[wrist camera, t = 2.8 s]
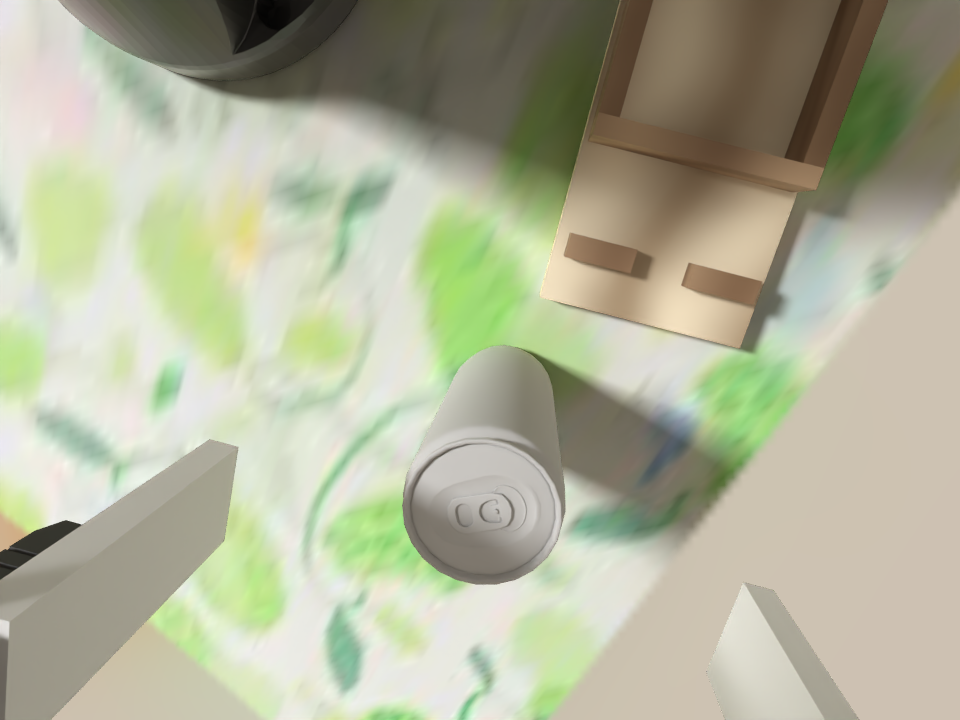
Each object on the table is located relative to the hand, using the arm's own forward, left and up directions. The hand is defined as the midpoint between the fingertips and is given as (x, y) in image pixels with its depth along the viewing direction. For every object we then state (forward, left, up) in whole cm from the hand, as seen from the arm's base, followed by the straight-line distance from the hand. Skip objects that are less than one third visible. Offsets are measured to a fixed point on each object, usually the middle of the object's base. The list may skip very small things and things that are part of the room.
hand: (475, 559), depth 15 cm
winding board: (+5, +13, -14) cm, 20 cm away
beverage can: (0, 0, -14) cm, 14 cm away
